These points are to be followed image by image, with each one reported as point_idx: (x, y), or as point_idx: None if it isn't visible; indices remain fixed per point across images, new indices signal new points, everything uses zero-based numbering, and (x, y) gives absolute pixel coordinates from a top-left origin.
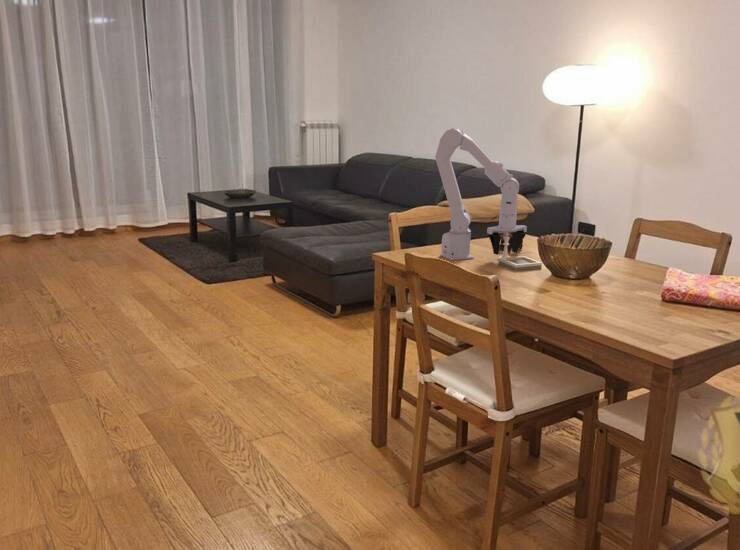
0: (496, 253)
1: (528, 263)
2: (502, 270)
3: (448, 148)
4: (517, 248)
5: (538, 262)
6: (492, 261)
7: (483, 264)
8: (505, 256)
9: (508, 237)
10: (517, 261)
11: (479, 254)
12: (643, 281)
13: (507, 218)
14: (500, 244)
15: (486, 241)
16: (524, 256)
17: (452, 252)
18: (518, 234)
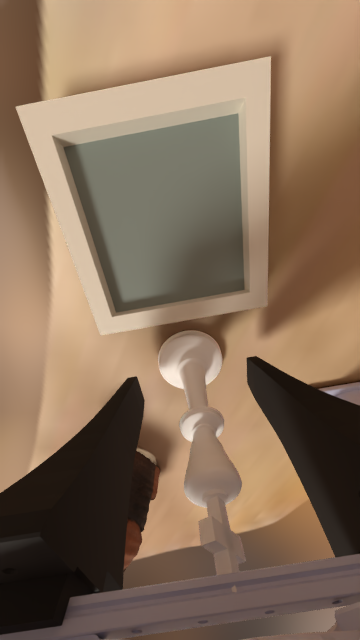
0: (261, 359)
1: (140, 103)
2: (314, 145)
3: None
4: (123, 392)
5: (44, 125)
6: (255, 343)
7: (326, 298)
8: (196, 359)
9: (203, 479)
10: (170, 263)
11: (246, 436)
12: None
13: None
14: (150, 497)
15: (150, 542)
16: (103, 322)
17: None
18: (75, 530)
